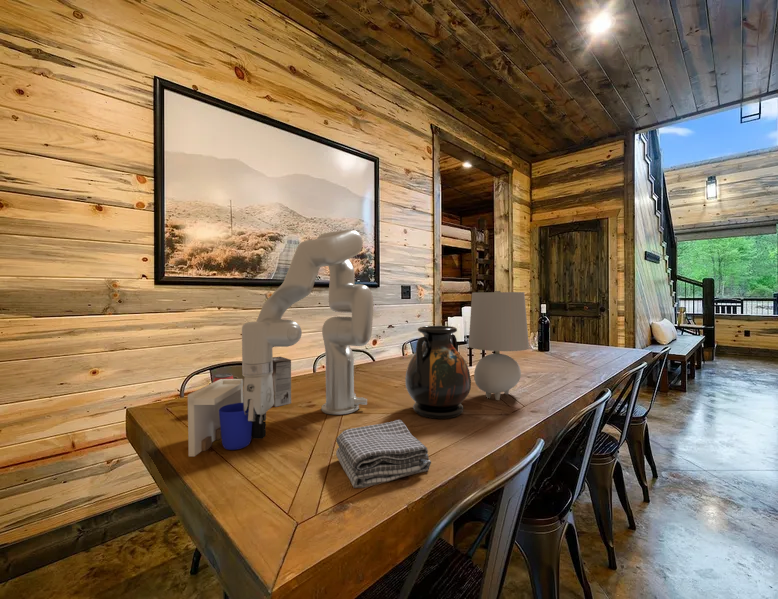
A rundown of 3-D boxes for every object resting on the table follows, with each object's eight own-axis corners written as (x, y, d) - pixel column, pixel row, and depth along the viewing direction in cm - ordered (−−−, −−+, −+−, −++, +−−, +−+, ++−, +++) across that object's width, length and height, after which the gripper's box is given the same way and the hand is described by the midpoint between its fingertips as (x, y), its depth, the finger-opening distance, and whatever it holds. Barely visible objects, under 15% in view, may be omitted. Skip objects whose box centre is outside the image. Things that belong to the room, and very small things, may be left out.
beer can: (238, 407, 123) (237, 372, 122) (227, 413, 116) (227, 377, 116) (220, 406, 123) (220, 372, 123) (209, 412, 117) (208, 377, 117)
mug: (270, 436, 96) (269, 400, 96) (237, 454, 85) (237, 414, 85) (246, 432, 99) (246, 397, 99) (211, 450, 88) (211, 410, 88)
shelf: (243, 430, 100) (242, 378, 100) (215, 456, 84) (214, 394, 84) (221, 430, 100) (220, 379, 100) (188, 456, 84) (187, 394, 84)
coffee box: (264, 401, 129) (263, 358, 128) (280, 398, 133) (280, 355, 133) (275, 407, 122) (274, 361, 122) (292, 403, 126) (291, 358, 126)
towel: (333, 461, 82) (333, 427, 82) (404, 447, 89) (403, 416, 89) (353, 494, 68) (353, 454, 68) (434, 474, 75) (434, 438, 75)
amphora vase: (442, 429, 100) (441, 332, 100) (392, 411, 117) (391, 327, 116) (484, 412, 115) (484, 327, 114) (435, 398, 131) (434, 323, 131)
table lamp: (490, 386, 147) (489, 291, 147) (541, 396, 131) (540, 290, 131) (457, 397, 132) (456, 291, 131) (510, 410, 116) (509, 290, 115)
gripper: (261, 374, 85) (262, 449, 85) (280, 362, 100) (281, 426, 100) (230, 375, 85) (231, 450, 85) (254, 363, 100) (255, 427, 100)
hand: (258, 437), depth 92 cm, fingers closed
